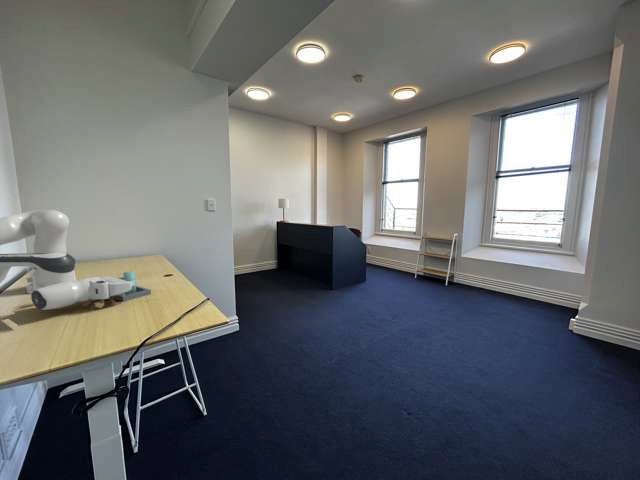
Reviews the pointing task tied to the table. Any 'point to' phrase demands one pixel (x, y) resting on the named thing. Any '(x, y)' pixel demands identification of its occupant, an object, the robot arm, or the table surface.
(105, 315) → the table surface
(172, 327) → the table surface
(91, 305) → the jig plate
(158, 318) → the table surface
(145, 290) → the tray
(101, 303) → the bench dog
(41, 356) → the table surface
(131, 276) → the dowel
